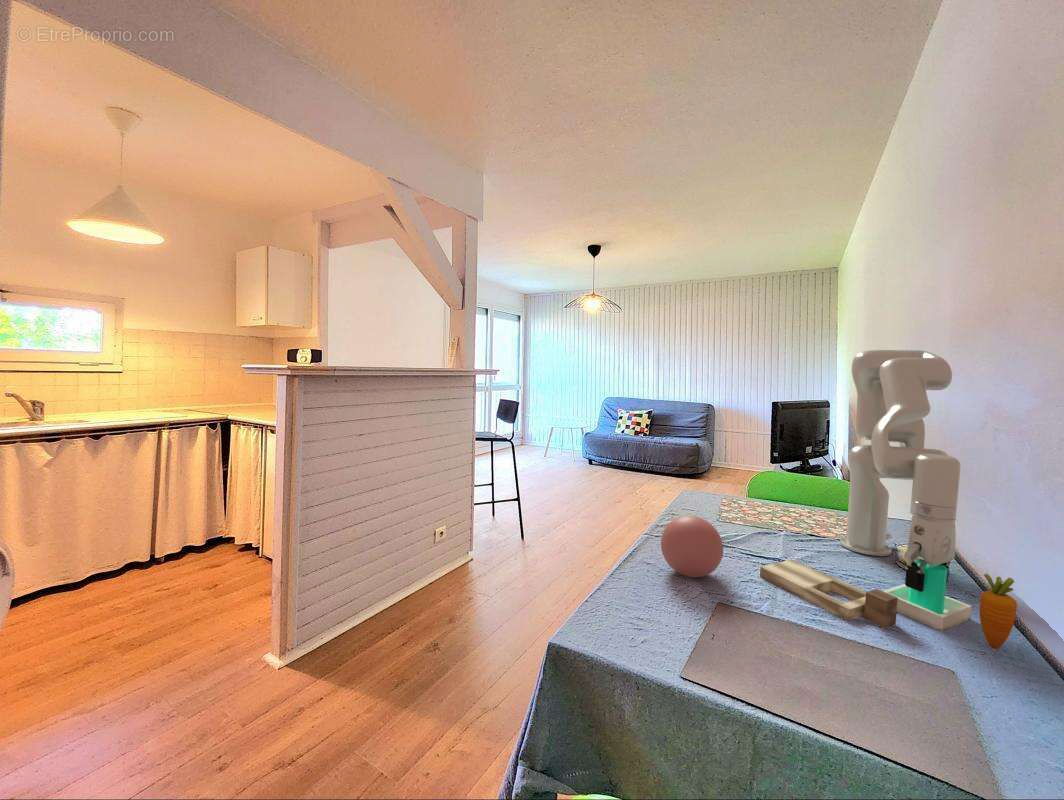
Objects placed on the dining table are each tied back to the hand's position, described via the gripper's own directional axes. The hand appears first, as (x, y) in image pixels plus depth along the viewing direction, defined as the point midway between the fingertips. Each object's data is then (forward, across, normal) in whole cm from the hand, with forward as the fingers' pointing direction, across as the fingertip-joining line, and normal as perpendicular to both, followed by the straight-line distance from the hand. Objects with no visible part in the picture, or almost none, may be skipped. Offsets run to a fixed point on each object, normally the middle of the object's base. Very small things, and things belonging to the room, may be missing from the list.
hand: (926, 584), depth 100 cm
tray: (+6, 0, 0) cm, 6 cm away
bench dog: (+6, -14, +2) cm, 15 cm away
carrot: (+6, -4, -13) cm, 15 cm away
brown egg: (+6, -34, +35) cm, 49 cm away
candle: (+6, 0, 0) cm, 6 cm away
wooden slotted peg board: (+6, -14, +15) cm, 22 cm away
